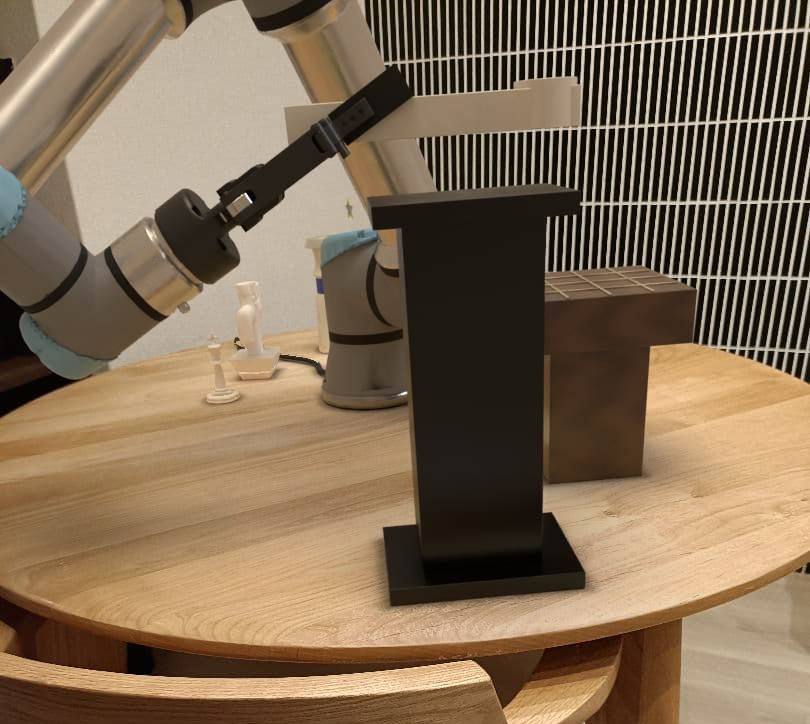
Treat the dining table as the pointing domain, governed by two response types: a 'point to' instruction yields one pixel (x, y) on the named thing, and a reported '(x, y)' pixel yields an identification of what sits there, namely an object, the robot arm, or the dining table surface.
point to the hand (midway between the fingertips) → (401, 81)
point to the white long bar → (462, 112)
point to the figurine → (252, 335)
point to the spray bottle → (321, 286)
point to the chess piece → (219, 374)
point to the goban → (604, 365)
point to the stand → (475, 393)
